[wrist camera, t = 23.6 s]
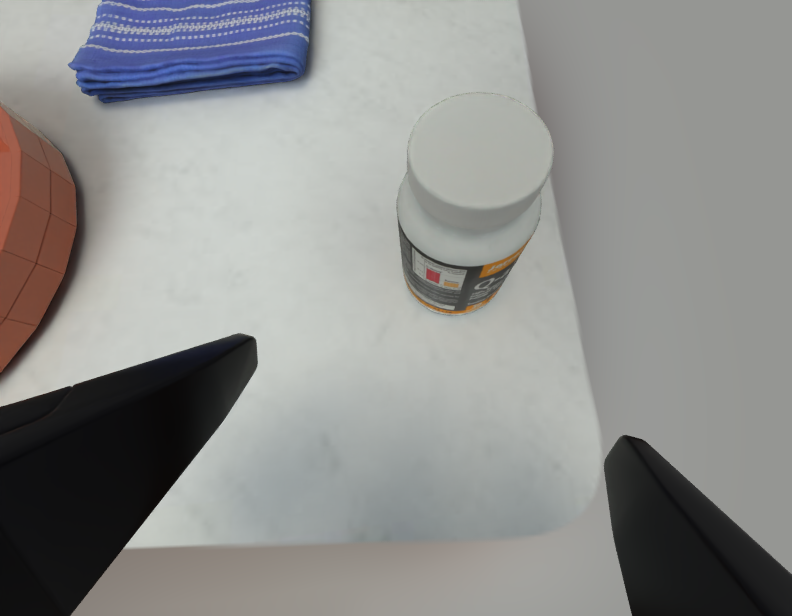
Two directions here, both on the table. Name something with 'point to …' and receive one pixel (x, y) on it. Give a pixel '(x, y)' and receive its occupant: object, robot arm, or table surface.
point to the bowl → (30, 228)
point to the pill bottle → (470, 198)
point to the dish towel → (191, 46)
